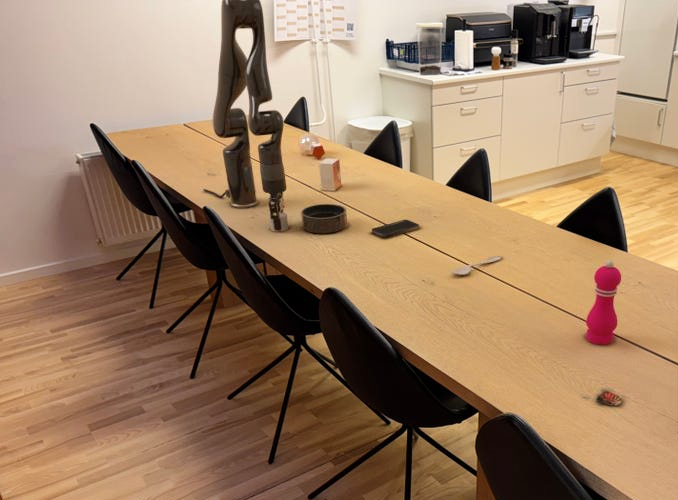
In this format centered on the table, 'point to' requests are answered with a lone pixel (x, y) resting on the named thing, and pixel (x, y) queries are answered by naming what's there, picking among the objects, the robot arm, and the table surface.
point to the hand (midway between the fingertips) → (279, 226)
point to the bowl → (324, 218)
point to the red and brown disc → (609, 398)
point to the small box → (330, 174)
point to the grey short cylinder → (283, 222)
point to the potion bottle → (311, 146)
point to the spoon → (467, 268)
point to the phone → (395, 228)
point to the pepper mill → (603, 305)
